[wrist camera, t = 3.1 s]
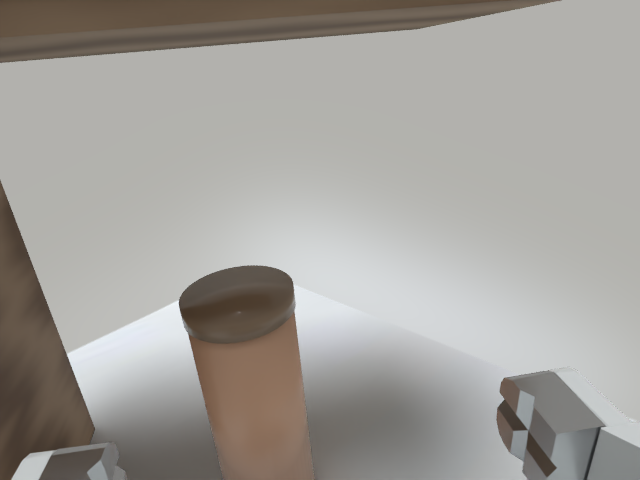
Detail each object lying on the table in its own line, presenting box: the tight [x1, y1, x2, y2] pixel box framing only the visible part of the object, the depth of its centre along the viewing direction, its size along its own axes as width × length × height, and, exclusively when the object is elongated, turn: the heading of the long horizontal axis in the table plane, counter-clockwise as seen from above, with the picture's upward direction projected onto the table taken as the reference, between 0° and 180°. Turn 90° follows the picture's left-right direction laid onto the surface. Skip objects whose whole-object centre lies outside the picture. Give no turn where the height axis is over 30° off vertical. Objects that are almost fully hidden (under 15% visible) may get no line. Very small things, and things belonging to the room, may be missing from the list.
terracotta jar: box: [179, 266, 315, 480], centre depth 22 cm, size 5×5×13 cm
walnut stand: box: [0, 0, 560, 480], centre depth 21 cm, size 13×26×26 cm, turn 101°
